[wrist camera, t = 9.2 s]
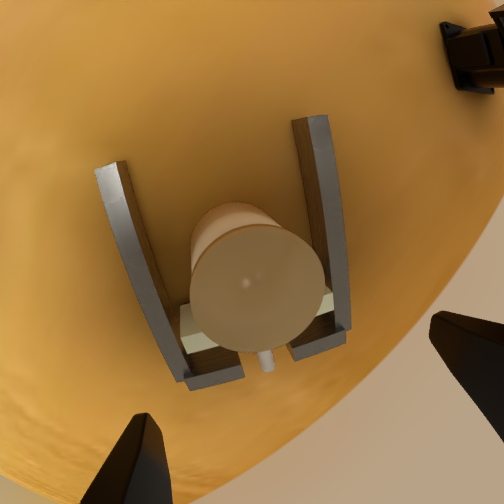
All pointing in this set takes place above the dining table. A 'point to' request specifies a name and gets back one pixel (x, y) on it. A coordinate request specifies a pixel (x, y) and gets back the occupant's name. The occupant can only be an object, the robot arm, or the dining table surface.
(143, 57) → the dining table surface
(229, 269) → the jar
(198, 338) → the pusher
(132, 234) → the grey u-shaped frame
